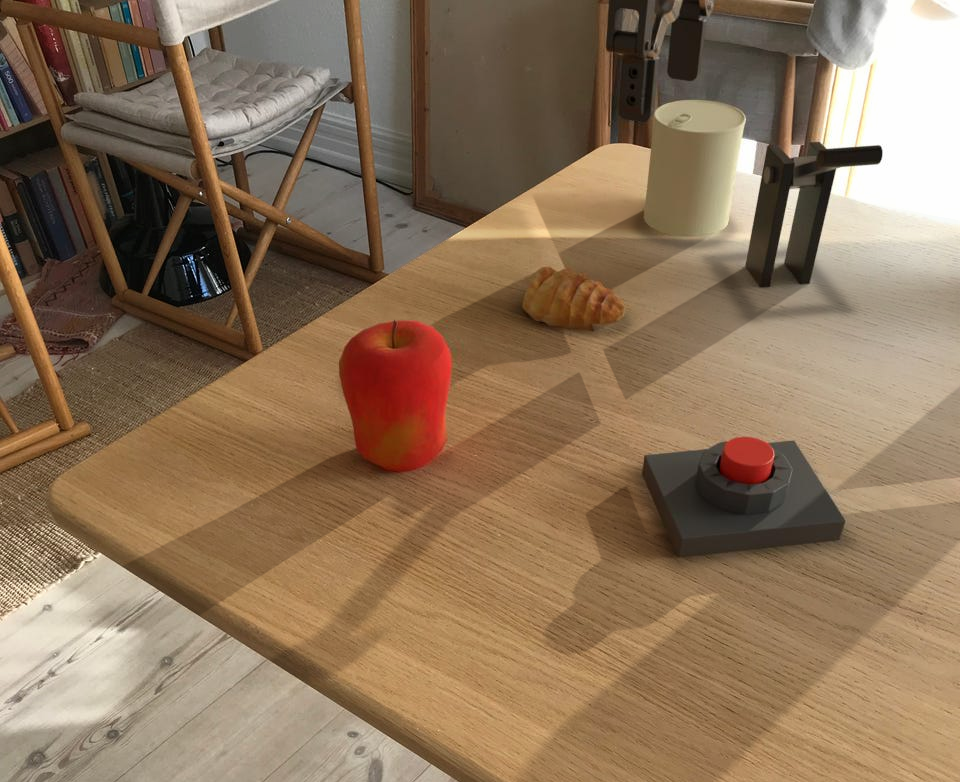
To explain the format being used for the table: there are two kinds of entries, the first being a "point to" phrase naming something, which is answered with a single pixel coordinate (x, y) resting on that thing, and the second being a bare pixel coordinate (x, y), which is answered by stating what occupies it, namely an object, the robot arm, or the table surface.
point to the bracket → (772, 215)
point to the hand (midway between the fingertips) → (660, 97)
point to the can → (692, 167)
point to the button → (746, 460)
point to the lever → (832, 162)
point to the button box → (739, 502)
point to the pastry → (570, 300)
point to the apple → (397, 393)
